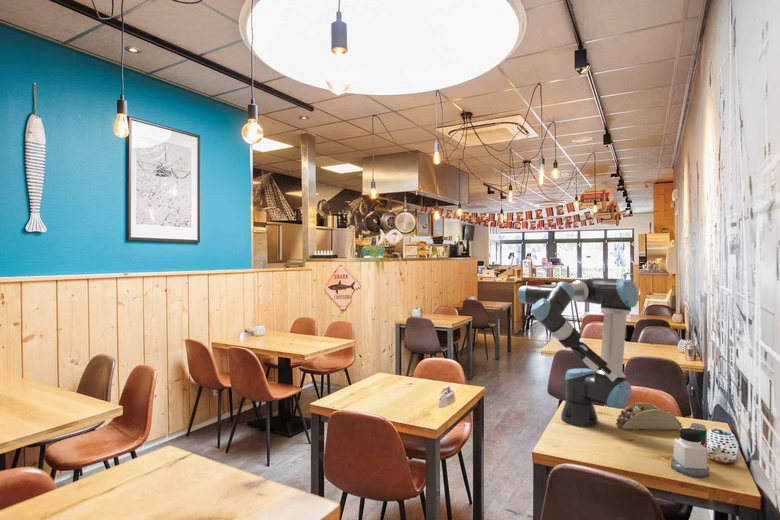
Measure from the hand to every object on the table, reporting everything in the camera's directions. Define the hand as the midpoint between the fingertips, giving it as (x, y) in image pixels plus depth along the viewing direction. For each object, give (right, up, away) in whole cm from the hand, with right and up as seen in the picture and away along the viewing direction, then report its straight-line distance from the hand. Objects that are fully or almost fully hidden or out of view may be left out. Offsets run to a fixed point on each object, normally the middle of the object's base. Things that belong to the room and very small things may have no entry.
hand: (605, 374), depth 163 cm
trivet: (+23, -30, -13) cm, 40 cm away
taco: (+31, -30, +25) cm, 50 cm away
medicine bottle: (+23, -28, -13) cm, 38 cm away
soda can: (+32, -30, -4) cm, 44 cm away
